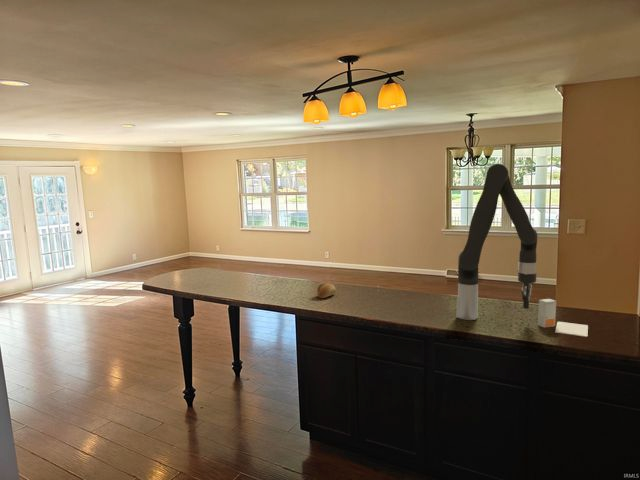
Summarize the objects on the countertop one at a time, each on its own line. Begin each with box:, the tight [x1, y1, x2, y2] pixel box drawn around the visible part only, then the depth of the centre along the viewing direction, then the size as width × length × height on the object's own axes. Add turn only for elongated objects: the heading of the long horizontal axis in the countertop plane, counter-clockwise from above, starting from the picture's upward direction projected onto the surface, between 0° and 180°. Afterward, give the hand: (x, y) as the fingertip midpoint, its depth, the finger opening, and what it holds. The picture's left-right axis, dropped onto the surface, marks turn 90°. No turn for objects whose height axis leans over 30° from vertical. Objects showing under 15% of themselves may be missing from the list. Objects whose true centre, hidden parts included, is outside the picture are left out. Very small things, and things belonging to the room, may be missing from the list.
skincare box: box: [537, 298, 557, 328], centre depth 195 cm, size 6×4×12 cm
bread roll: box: [316, 282, 337, 299], centre depth 257 cm, size 10×15×8 cm, turn 150°
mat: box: [554, 321, 589, 338], centre depth 190 cm, size 12×16×1 cm
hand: (526, 308), depth 200 cm, fingers closed
